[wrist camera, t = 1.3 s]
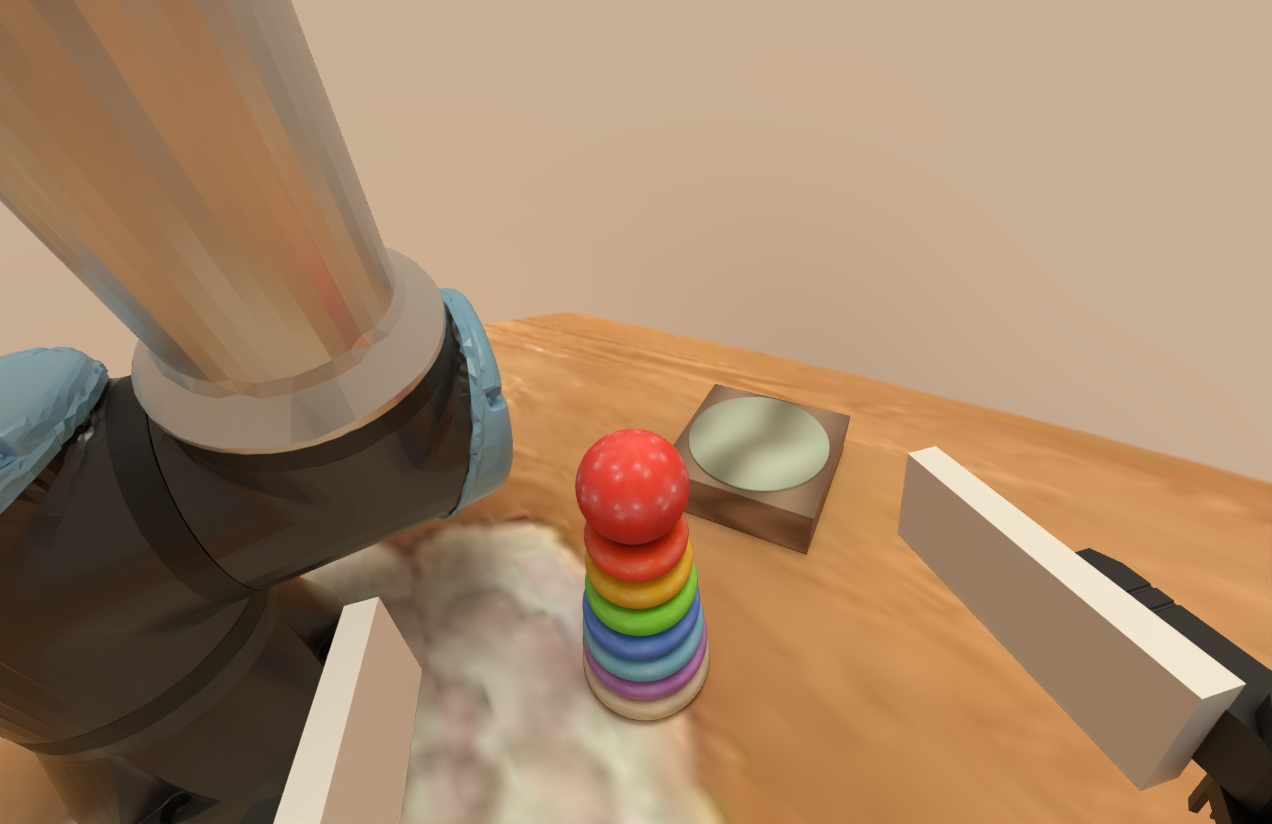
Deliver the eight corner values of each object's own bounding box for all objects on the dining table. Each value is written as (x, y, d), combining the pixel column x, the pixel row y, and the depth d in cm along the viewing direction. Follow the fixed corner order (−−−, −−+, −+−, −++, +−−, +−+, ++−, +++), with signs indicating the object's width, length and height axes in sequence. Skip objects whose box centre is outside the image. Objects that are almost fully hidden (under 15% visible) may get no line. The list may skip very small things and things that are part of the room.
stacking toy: (582, 730, 31) (510, 524, 19) (587, 605, 37) (535, 392, 26) (718, 721, 31) (728, 507, 19) (701, 597, 37) (700, 378, 25)
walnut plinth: (660, 502, 44) (657, 465, 41) (714, 417, 52) (715, 381, 49) (806, 554, 39) (814, 516, 37) (842, 451, 47) (850, 413, 44)
